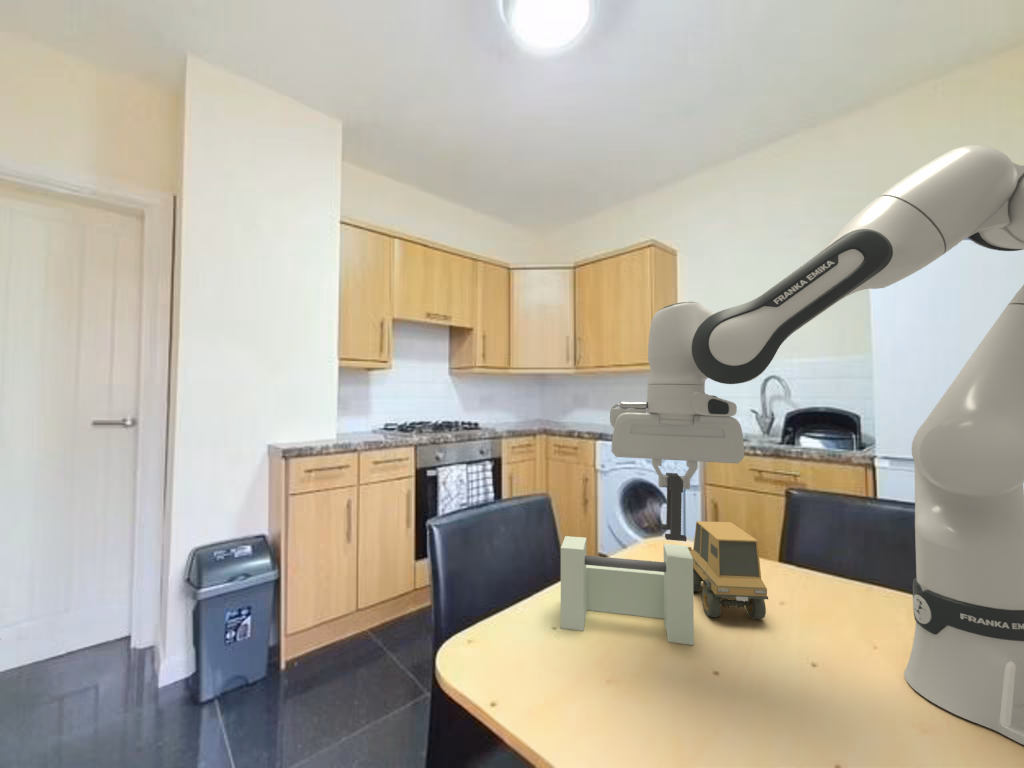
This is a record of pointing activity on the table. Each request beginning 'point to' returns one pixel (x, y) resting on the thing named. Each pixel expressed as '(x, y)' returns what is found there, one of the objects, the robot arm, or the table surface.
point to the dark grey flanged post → (674, 508)
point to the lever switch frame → (628, 588)
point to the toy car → (727, 569)
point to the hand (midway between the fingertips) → (673, 487)
